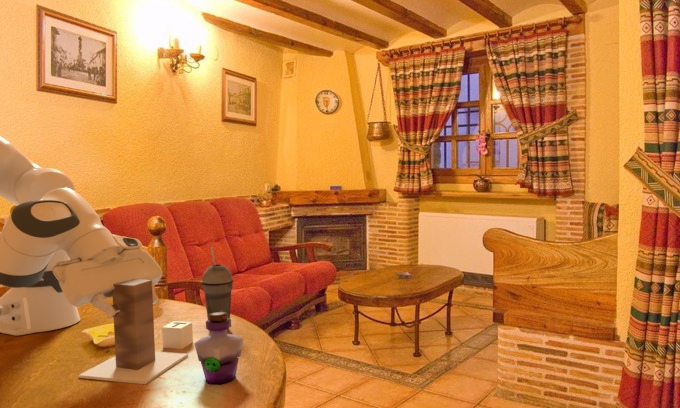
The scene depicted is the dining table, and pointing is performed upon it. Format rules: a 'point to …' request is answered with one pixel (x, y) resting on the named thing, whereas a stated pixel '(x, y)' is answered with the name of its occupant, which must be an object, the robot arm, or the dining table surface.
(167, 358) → the white square plate
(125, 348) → the walnut block
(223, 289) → the beverage cup
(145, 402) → the dining table surface
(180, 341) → the letter cube
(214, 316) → the potion bottle
